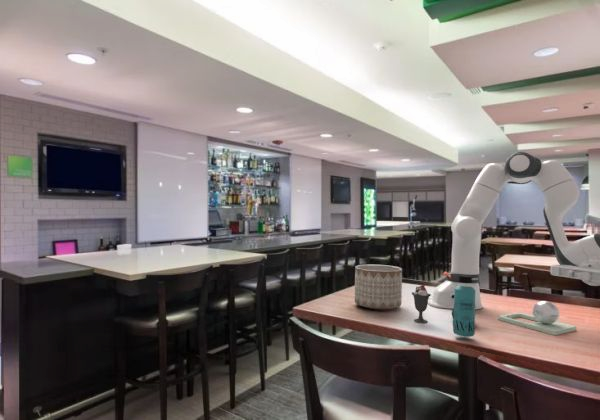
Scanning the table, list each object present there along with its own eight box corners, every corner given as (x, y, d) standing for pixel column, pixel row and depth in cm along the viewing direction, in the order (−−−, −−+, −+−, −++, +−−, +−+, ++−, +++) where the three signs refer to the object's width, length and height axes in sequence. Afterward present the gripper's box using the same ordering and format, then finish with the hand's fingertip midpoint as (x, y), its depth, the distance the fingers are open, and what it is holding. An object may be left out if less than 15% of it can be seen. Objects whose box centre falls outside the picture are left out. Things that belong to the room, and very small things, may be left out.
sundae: (428, 325, 131) (428, 282, 131) (409, 321, 135) (409, 280, 135) (432, 320, 137) (433, 280, 137) (413, 317, 140) (414, 278, 140)
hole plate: (576, 330, 129) (576, 326, 129) (554, 335, 123) (554, 331, 123) (519, 315, 146) (519, 312, 146) (498, 319, 140) (498, 316, 140)
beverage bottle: (448, 335, 121) (449, 273, 121) (468, 335, 121) (469, 273, 121) (459, 342, 114) (460, 277, 114) (479, 341, 115) (480, 277, 115)
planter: (355, 299, 168) (356, 263, 168) (399, 302, 164) (400, 265, 164) (353, 310, 149) (353, 269, 149) (402, 314, 145) (403, 272, 145)
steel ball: (539, 326, 128) (539, 303, 128) (528, 319, 136) (528, 298, 136) (564, 327, 127) (564, 304, 127) (551, 321, 135) (551, 299, 135)
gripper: (562, 260, 139) (540, 261, 132) (630, 267, 121) (609, 269, 114) (562, 277, 139) (540, 279, 132) (630, 287, 121) (609, 290, 114)
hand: (573, 275), depth 123 cm, fingers closed
